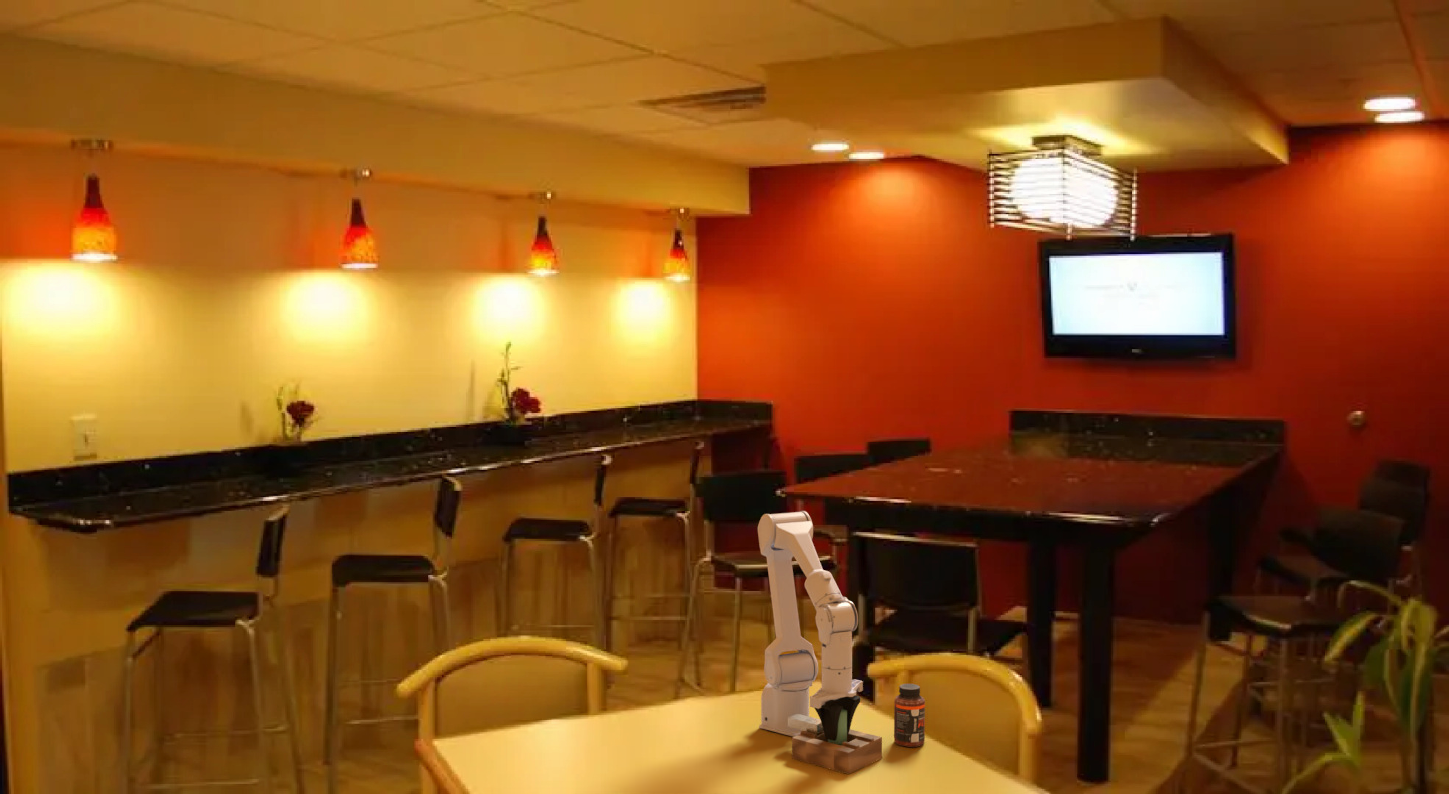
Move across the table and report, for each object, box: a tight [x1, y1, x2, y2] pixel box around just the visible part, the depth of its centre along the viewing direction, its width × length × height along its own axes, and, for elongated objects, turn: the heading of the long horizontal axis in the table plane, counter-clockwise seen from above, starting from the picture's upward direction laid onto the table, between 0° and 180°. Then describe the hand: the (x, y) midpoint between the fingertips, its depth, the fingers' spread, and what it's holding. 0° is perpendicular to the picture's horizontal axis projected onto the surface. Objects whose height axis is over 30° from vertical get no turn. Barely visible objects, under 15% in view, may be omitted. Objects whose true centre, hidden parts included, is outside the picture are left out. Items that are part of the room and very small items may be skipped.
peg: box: [828, 709, 847, 745], centre depth 237 cm, size 4×4×7 cm
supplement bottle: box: [893, 683, 926, 748], centre depth 245 cm, size 6×6×11 cm
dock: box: [791, 728, 883, 775], centre depth 237 cm, size 13×11×4 cm
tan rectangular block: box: [788, 714, 824, 734], centre depth 241 cm, size 7×3×2 cm, turn 49°
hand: (836, 736), depth 237 cm, fingers closed on peg, 3 cm apart
